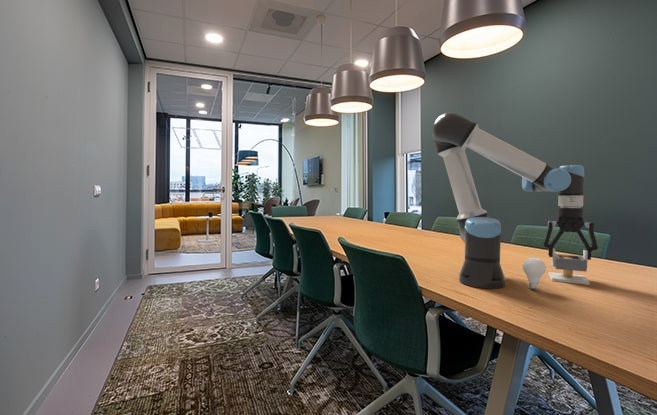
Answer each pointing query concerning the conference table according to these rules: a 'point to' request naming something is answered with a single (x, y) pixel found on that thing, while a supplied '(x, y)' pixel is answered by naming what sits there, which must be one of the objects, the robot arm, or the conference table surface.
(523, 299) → the conference table surface
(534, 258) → the light bulb
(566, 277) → the keeper
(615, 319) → the conference table surface
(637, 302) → the conference table surface
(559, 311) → the conference table surface
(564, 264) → the grey square frame
